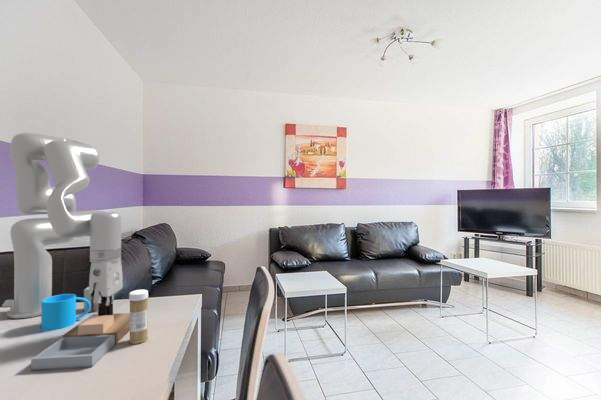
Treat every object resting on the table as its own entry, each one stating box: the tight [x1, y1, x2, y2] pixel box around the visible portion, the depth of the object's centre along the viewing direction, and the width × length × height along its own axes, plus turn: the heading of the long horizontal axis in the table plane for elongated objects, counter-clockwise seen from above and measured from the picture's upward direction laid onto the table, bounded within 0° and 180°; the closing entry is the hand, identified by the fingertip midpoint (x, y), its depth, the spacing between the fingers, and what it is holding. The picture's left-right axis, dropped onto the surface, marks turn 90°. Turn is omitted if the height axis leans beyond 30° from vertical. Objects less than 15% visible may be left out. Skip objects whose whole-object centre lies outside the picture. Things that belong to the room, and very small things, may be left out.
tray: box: [30, 335, 116, 372], centre depth 72 cm, size 13×11×3 cm
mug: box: [40, 293, 91, 332], centre depth 91 cm, size 12×8×8 cm
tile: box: [77, 315, 114, 335], centre depth 80 cm, size 6×6×2 cm
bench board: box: [62, 312, 130, 345], centre depth 84 cm, size 13×14×3 cm
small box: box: [83, 286, 102, 313], centre depth 102 cm, size 5×4×8 cm
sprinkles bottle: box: [128, 289, 149, 345], centre depth 80 cm, size 5×5×14 cm
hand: (105, 318), depth 85 cm, fingers closed
